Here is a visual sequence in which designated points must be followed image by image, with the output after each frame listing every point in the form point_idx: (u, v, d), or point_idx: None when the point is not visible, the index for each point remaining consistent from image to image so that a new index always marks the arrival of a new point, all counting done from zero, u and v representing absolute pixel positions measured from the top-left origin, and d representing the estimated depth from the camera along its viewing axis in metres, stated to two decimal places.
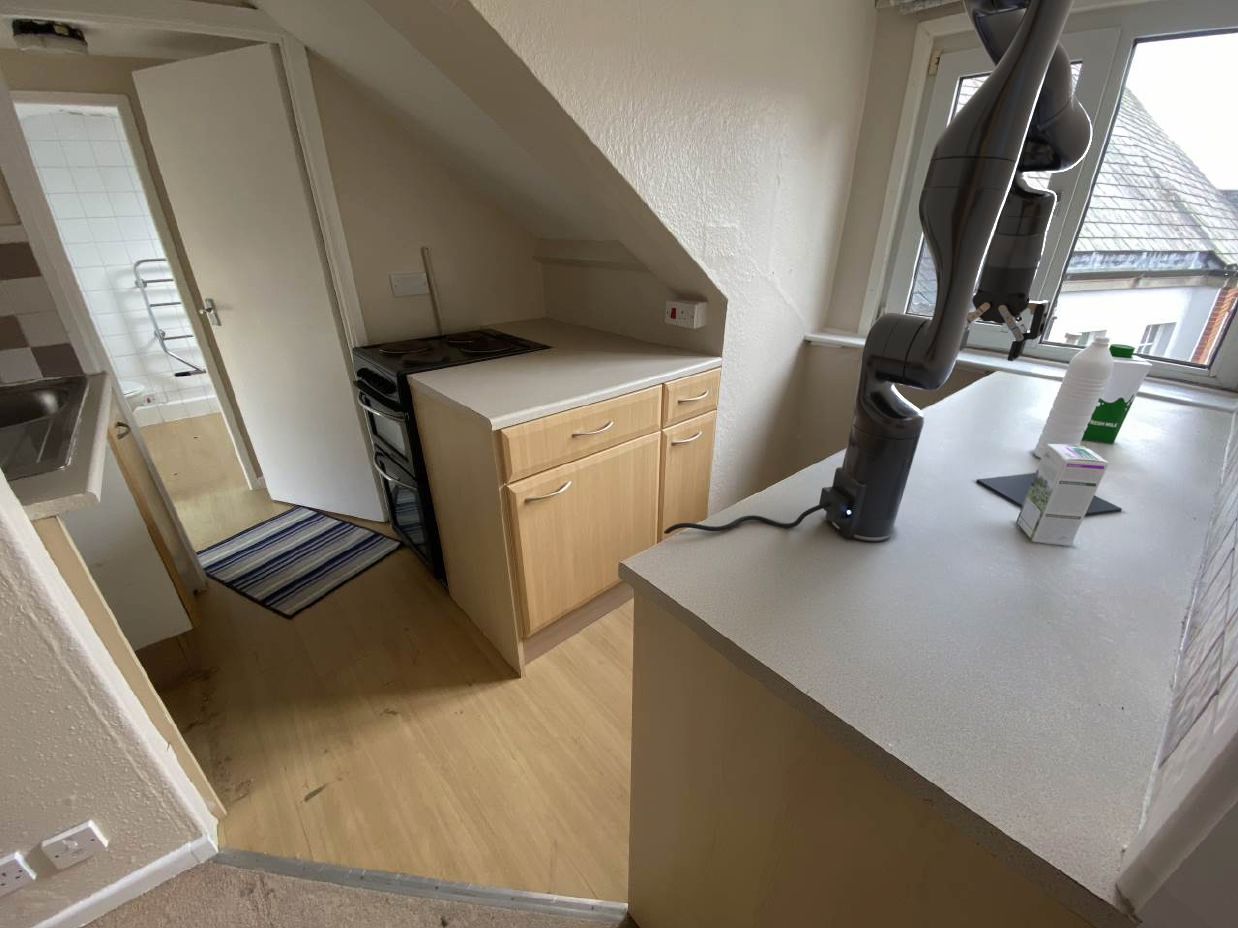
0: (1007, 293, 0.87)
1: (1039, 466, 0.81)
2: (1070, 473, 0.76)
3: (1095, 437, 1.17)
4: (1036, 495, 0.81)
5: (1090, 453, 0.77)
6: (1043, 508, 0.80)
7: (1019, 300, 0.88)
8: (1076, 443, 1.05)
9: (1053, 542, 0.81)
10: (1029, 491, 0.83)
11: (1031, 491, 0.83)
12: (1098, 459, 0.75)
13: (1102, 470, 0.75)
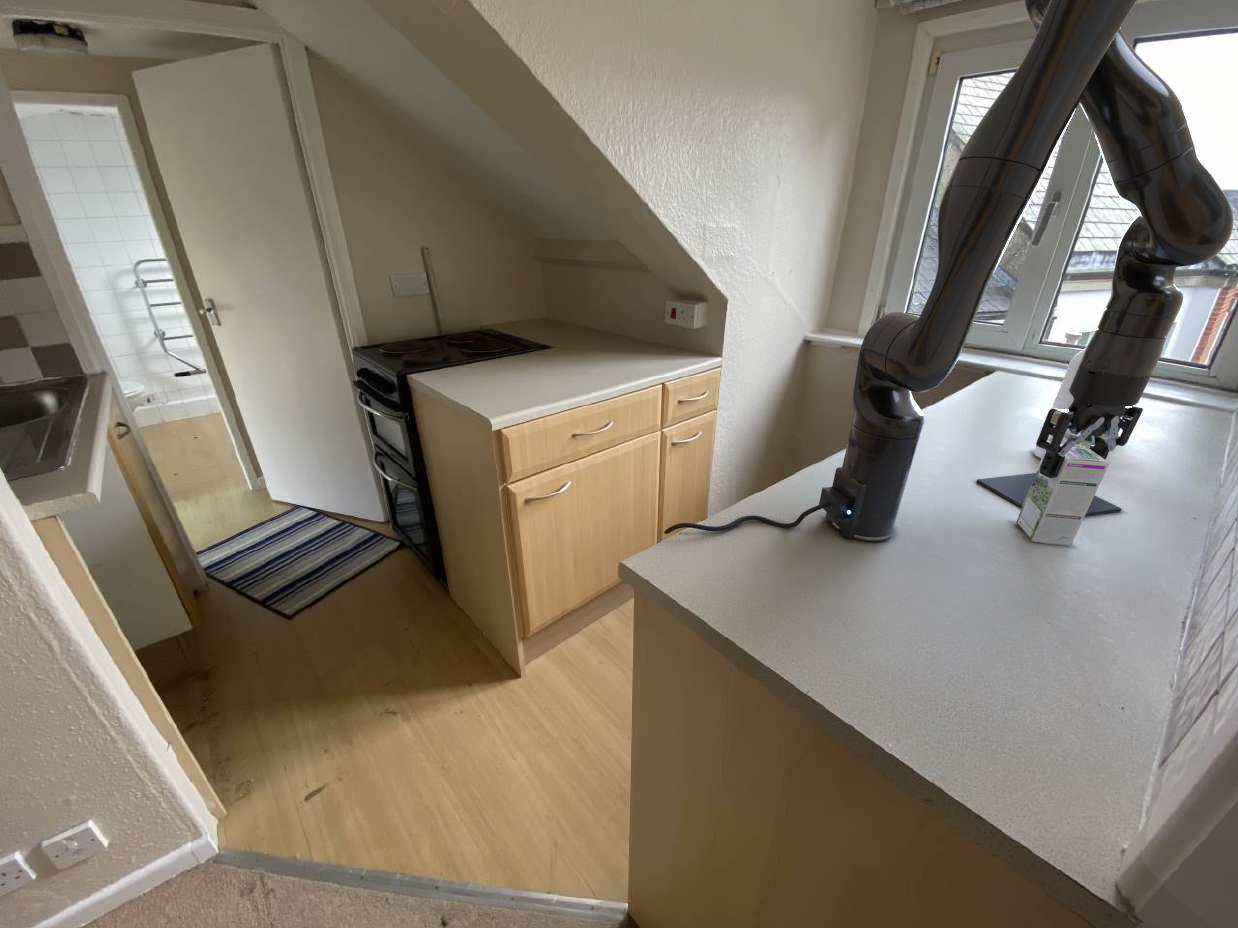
0: None
1: None
2: (1071, 473, 0.76)
3: None
4: (1037, 495, 0.81)
5: (1091, 453, 0.77)
6: (1043, 507, 0.80)
7: None
8: None
9: (1053, 542, 0.81)
10: (1030, 490, 0.83)
11: (1031, 491, 0.83)
12: (1099, 459, 0.75)
13: (1103, 470, 0.75)
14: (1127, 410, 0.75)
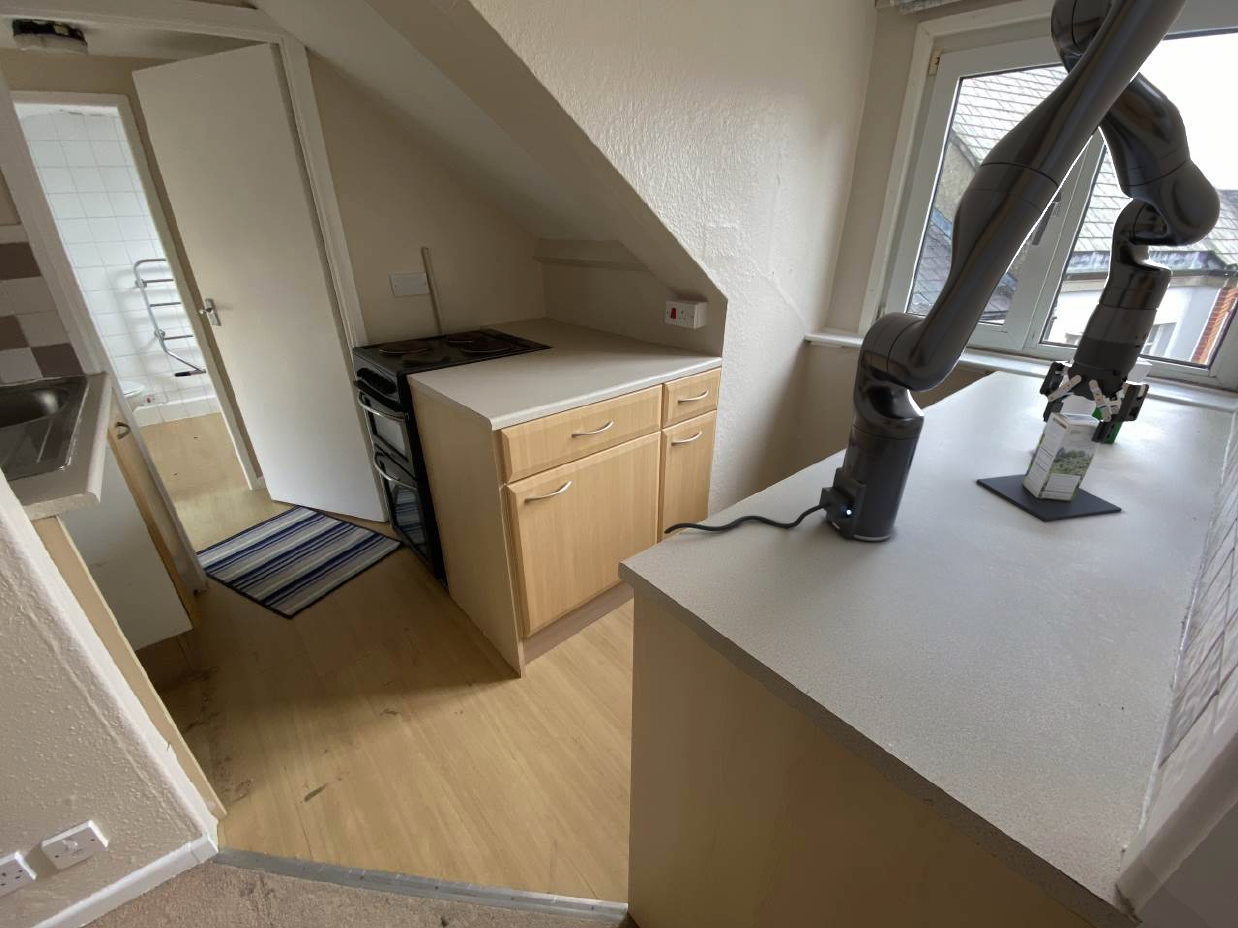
0: (1097, 367, 0.82)
1: (1064, 444, 0.88)
2: None
3: None
4: (1069, 466, 0.89)
5: (1073, 414, 0.90)
6: (1084, 472, 0.89)
7: (1113, 377, 0.82)
8: None
9: None
10: (1054, 467, 0.90)
11: (1057, 466, 0.90)
12: (1087, 416, 0.89)
13: None
14: None
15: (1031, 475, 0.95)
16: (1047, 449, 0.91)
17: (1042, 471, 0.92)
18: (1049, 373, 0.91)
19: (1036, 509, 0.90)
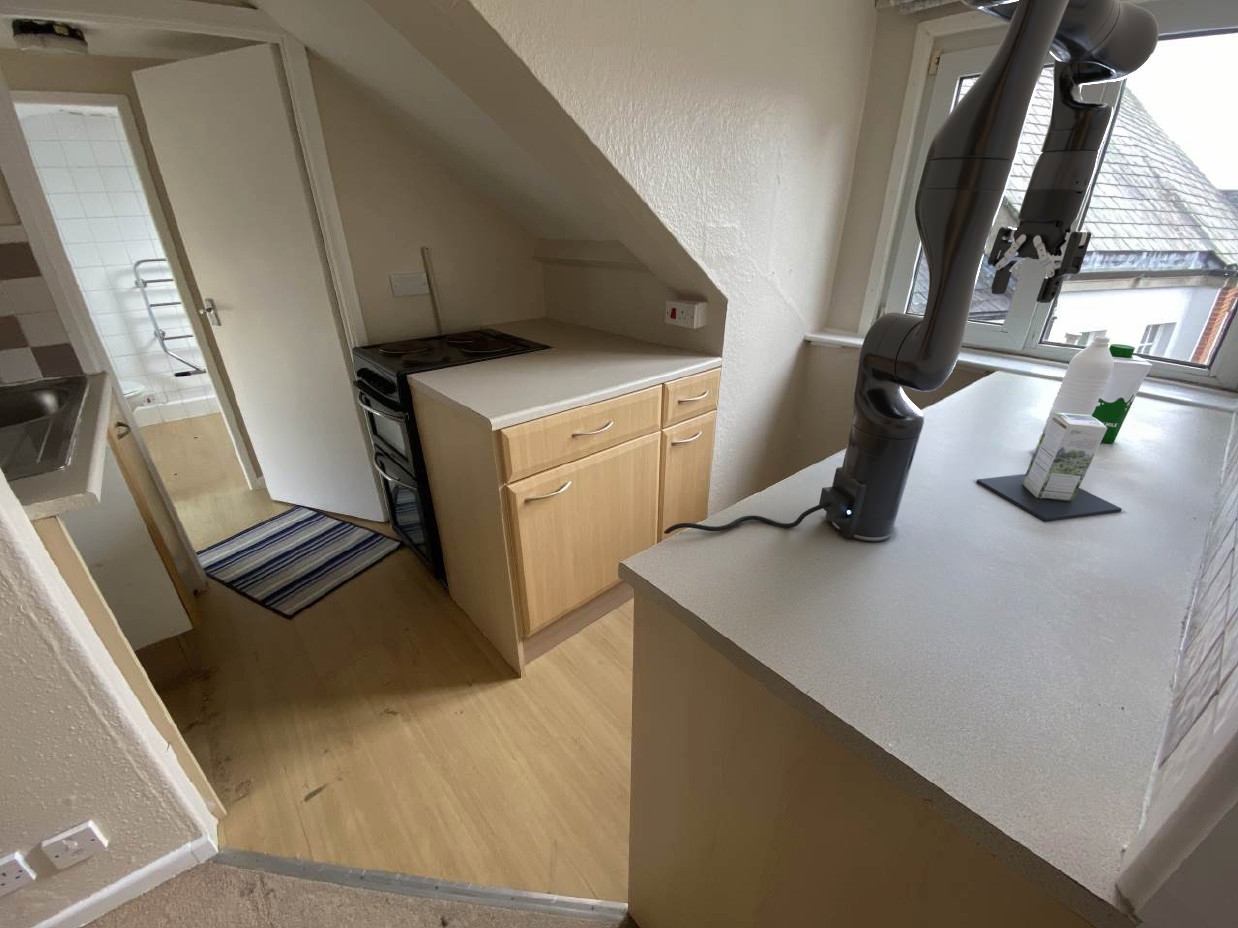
0: (1040, 219, 0.80)
1: (1064, 444, 0.88)
2: None
3: None
4: (1069, 466, 0.89)
5: (1073, 414, 0.90)
6: (1084, 472, 0.89)
7: (1056, 230, 0.80)
8: None
9: None
10: (1054, 467, 0.90)
11: (1057, 466, 0.90)
12: (1088, 416, 0.89)
13: None
14: None
15: (1031, 475, 0.95)
16: (1047, 449, 0.91)
17: (1042, 471, 0.92)
18: (996, 241, 0.89)
19: (1036, 509, 0.90)
